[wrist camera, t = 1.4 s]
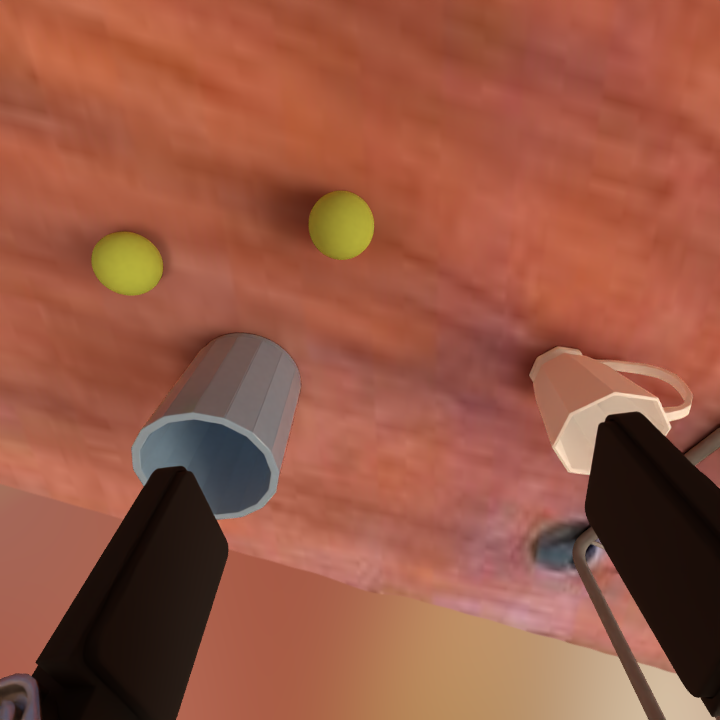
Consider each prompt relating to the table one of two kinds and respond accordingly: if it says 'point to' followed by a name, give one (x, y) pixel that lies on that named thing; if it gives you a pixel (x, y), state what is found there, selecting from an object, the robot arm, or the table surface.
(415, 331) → the table surface
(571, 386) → the cup
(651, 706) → the newton's cradle
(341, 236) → the plum
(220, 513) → the tumbler
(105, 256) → the plum
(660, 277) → the table surface
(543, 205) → the table surface
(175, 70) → the table surface
